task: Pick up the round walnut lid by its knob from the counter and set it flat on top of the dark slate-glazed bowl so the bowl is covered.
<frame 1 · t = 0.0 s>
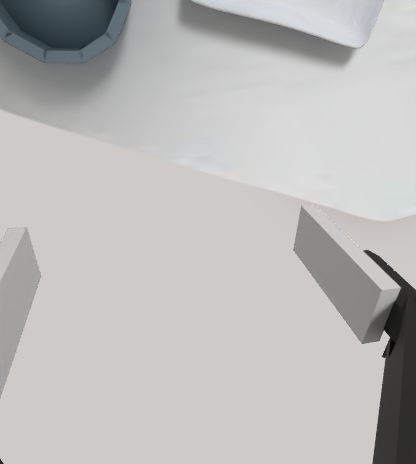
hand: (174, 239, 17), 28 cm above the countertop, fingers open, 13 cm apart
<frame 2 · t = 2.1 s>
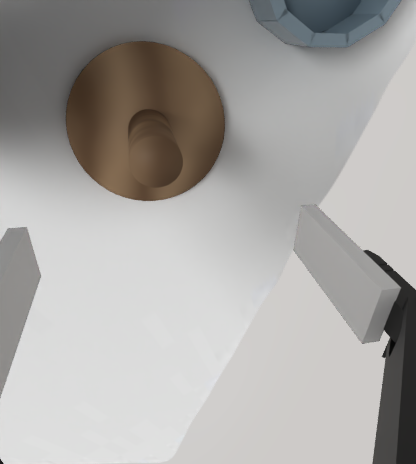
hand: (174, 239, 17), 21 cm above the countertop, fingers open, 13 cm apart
lid: (148, 127, 34), on the countertop
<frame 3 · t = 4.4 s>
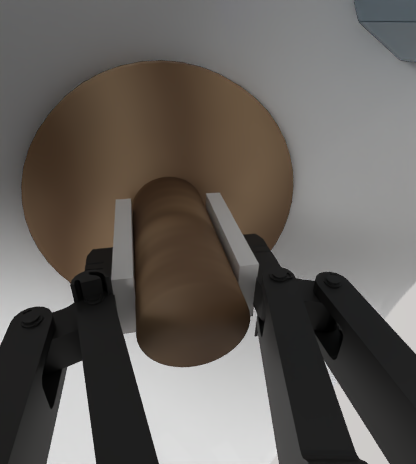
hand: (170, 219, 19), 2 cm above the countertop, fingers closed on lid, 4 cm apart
lid: (166, 200, 20), on the countertop, touching gripper
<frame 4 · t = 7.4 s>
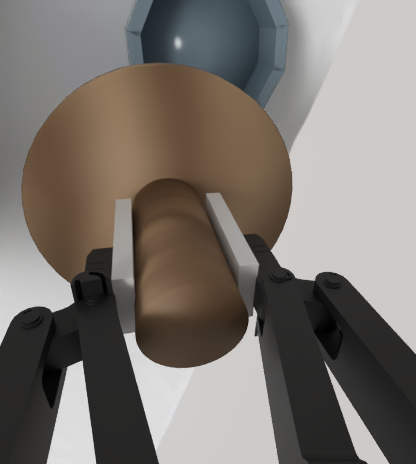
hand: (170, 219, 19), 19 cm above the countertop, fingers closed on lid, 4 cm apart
lid: (165, 201, 21), point 17 cm above the countertop, touching gripper
bowl: (198, 47, 32), on the countertop
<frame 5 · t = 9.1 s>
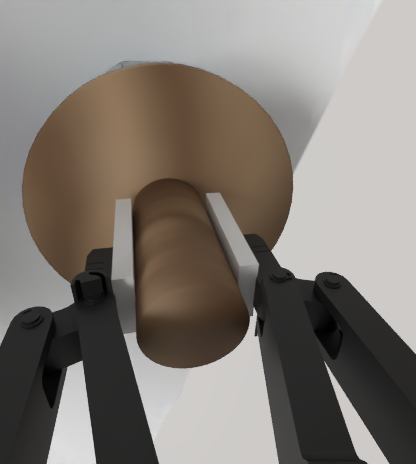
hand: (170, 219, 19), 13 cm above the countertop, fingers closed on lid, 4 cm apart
lid: (166, 201, 21), point 10 cm above the countertop, touching gripper
when the fingers open (9 cm above the countertop, at t = 10.4 s): lid drops 2 cm, resting on bowl.
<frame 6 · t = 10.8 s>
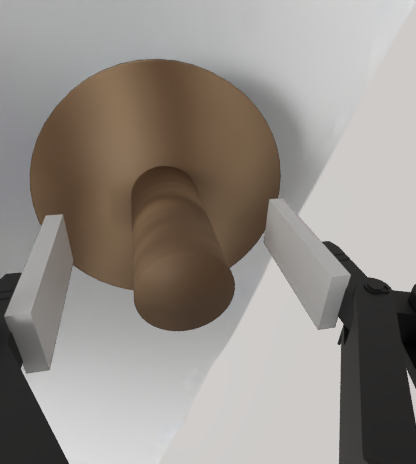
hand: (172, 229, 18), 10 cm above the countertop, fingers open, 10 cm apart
lid: (162, 189, 22), point 5 cm above the countertop, touching bowl
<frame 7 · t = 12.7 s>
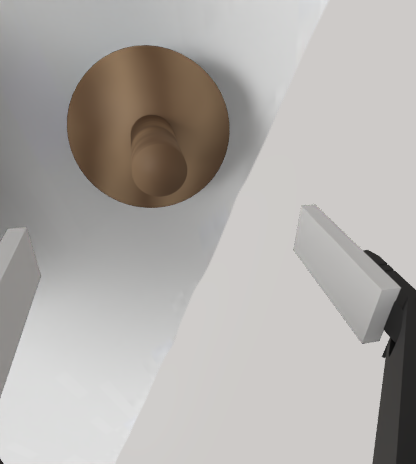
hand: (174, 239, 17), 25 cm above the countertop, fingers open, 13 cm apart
lid: (151, 133, 33), point 5 cm above the countertop, touching bowl
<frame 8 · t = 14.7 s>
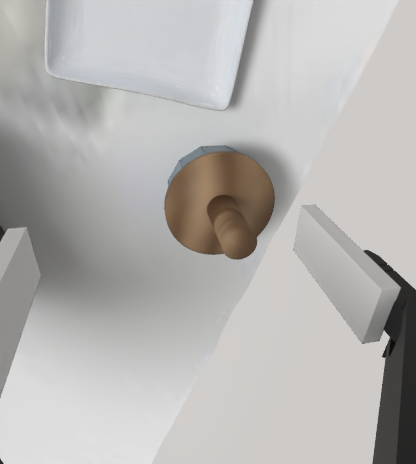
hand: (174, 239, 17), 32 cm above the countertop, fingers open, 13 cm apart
lid: (219, 204, 47), point 5 cm above the countertop, touching bowl
bowl: (212, 189, 51), on the countertop
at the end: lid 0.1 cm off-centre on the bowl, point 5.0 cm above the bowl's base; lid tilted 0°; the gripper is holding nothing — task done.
